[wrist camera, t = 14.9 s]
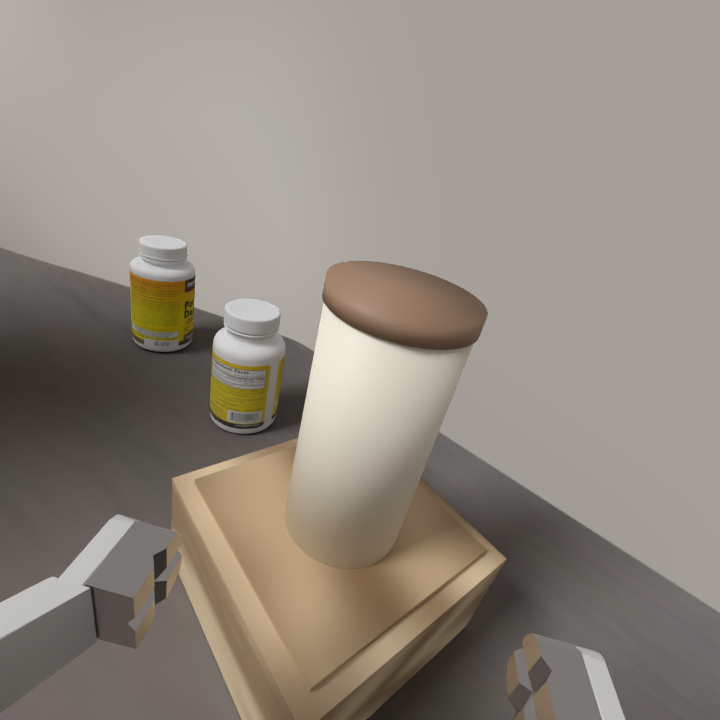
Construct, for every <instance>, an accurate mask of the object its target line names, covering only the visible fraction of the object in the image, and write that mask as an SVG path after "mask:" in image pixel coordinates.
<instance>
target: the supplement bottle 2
mask: <svg viewBox="0 0 720 720" xmlns="http://www.w3.org/2000/svg"><path fill="white" fill-rule="evenodd" d="M280 315H281V313H280V310H279V309H278V308H277V307H276V306H275V305H273V304H271V303H269V302H266V301H262V300H257V299H236V300H232V301H230V302H228V303H227V304H226V306H225V314H224V326H225V327H224V328H222V329H221V330H219V331H218V332H217V333H216V335H215V337H214V340H213V348H212V371H211V391H210V415H211V418H212V420H213V421H214V423H215V424H216V425H217V426H219V427H220V428H222V429H224V430H226V431H229V432H232V433H238V434H250V433H256V432H259V431H262V430H264V429H265V428H267V427H268V426H270V425H271V424H272V423H273V421H274V419H275V417H276V412H277V406H278V398H279V392H280V384H281V377H282V371H283V364H284V357H285V342H284V340H283V338H282V337H281V336H280V335H279V334H278V333H277V332H278V330H279V324H280Z"/></svg>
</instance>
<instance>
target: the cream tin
mask: <svg viewBox="0 0 720 720" xmlns="http://www.w3.org/2000/svg"><path fill="white" fill-rule="evenodd" d="M322 296H323V301H324V304H323V310H322V315H321V320H320V325H319V331H318V336H317V341H316V347H315V352H314V357H313V362H312V368H311V373H310V378H309V384H308V389H307V394H306V400H305V405H304V410H303V415H302V421H301V426H300V431H299V437H298V442H297V447H296V453H295V458H294V463H293V468H292V474H291V479H290V484H289V490H288V495H287V500H286V506H285V523H286V527H287V530H288V532H289V534H290V536H291V538H292V539H293V541H294V542H295V544H296V545H297V546H298V547H299V548H300V549H301V550H302V551H303V552H304V553H305V554H307V555H308V556H309V557H311V558H313V559H314V560H316V561H318V562H320V563H322V564H325V565H328V566H331V567H335V568H341V569H358V568H363V567H367V566H370V565H372V564H374V563H376V562H378V561H380V560H381V559H383V558H384V557H385V556H386V555H387V554H388V553H389V552H390V550H391V549H392V548H393V546H394V544H395V542H396V539H397V537H398V534H399V531H400V529H401V526H402V524H403V521H404V519H405V516H406V514H407V511H408V509H409V506H410V503H411V501H412V498H413V496H414V493H415V491H416V488H417V486H418V483H419V481H420V478H421V475H422V473H423V470H424V468H425V465H426V463H427V460H428V458H429V455H430V453H431V450H432V447H433V445H434V442H435V440H436V437H437V435H438V432H439V430H440V427H441V425H442V422H443V419H444V417H445V414H446V412H447V409H448V407H449V404H450V402H451V399H452V396H453V394H454V391H455V389H456V386H457V384H458V381H459V379H460V376H461V374H462V371H463V368H464V366H465V363H466V361H467V358H468V356H469V353H470V351H471V348H472V346H473V344H474V343H475V342H476V341H477V340H478V338H479V336H480V333H481V331H482V328H483V326H484V323H485V321H486V318H487V314H488V312H487V309H486V307H485V306H484V304H483V303H482V302H481V301H480V300H478V299H477V298H476V297H475V296H474V295H472V294H471V293H469V292H468V291H466V290H464V289H463V288H461V287H459V286H457V285H455V284H452V283H450V282H448V281H446V280H444V279H441V278H438V277H436V276H433V275H430V274H427V273H425V272H421V271H418V270H414V269H411V268H407V267H402V266H398V265H393V264H386V263H380V262H371V261H348V262H342V263H338V264H335V265H333V266H331V267H330V268H329V269H328V270H327V273H326V278H325V283H324V289H323V294H322Z"/></svg>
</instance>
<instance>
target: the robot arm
mask: <svg viewBox="0 0 720 720" xmlns="http://www.w3.org/2000/svg"><path fill="white" fill-rule="evenodd" d="M181 544H182V533H180V532H176V531H173V530H169V529H166V528H163V527H159V526H156V525H153V524H149V523H146V522H143V521H140V520H137V519H133V518H130V517H126V516H123V515H119V514H117V515H116V516H114V517H113V518H111V519H110V520H109V521H108V522H107V523H106V524H105V525H104V527H103V528H102V529H101V530H100V531H99V532H98V534H97V535H96V536H95V537H94V538H93V539H92V540H91V542H90V543H89V544H88V545H87V546H86V547H85V548H84V550H83V551H82V552H81V553H80V554H79V555H78V556H77V558H76V559H75V560H74V561H73V562H72V563H71V564H70V566H69V567H68V568H67V569H66V570H65V571H64V573H63V574H62V575H61V576H60V577H59V578H57V577H53V576H52V577H50V578H48V579H46V580H44V581H42V582H40V583H38V584H36V585H34V586H32V587H30V588H28V589H26V590H24V591H22V592H20V593H18V594H16V595H14V596H12V597H10V598H8V599H6V600H4V601H2V602H0V713H2V712H3V711H4V710H6V709H7V708H8V707H10V706H11V705H12V704H14V703H15V702H16V701H18V700H19V699H20V698H22V697H23V696H24V695H26V694H27V693H28V692H30V691H31V690H33V689H34V688H35V687H37V686H38V685H39V684H41V683H42V682H43V681H45V680H46V679H47V678H49V677H50V676H51V675H53V674H54V673H55V672H57V671H58V670H60V669H61V668H62V667H64V666H65V665H66V664H68V663H69V662H70V661H72V660H73V659H74V658H76V657H77V656H78V655H80V654H81V653H82V652H84V651H85V650H87V649H88V648H89V647H91V646H92V645H93V644H95V643H96V642H97V639H100V640H104V641H108V642H112V643H115V644H119V645H123V646H127V647H131V648H135V649H136V648H137V647H138V645H139V643H140V642H141V640H142V638H143V637H144V635H145V633H146V631H147V630H148V628H149V626H150V625H151V623H152V621H153V620H154V618H155V605H156V604H157V603H159V602H161V601H162V600H164V599H165V598H167V596H168V594H169V592H170V590H171V589H172V587H173V585H174V583H175V580H176V578H177V576H178V573H179V570H180V566H181V561H182V555H181V554H180V552H179V551H178V549H179V547H180V546H181ZM522 644H523V648H522V649H519V650H516V651H514V652H513V653H512V655H511V657H510V658H509V660H508V664H507V669H506V688H507V695H508V699H509V700H510V702H511V704H512V705H513V707H514V708H515V710H516V714H515V716H514V718H513V720H626V719H625V717H624V714H623V711H622V708H621V705H620V703H619V700H618V697H617V694H616V691H615V688H614V686H613V683H612V680H611V677H610V674H609V672H608V669H607V666H606V663H605V661H604V659H603V657H602V656H601V654H600V653H598V652H596V651H594V650H590V649H587V648H583V647H579V646H575V645H573V644H571V643H567V642H563V641H560V640H556V639H552V638H548V637H545V636H541V635H537V634H533V633H530V634H526V636H525V637H524V638H523V640H522Z"/></svg>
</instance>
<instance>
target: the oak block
mask: <svg viewBox="0 0 720 720" xmlns="http://www.w3.org/2000/svg"><path fill="white" fill-rule="evenodd" d="M297 442H298V438H296V439H293V440H290V441H287V442H284V443H281V444H278V445H274V446H271V447H268V448H265V449H262V450H259V451H256V452H253V453H249V454H246V455H243V456H240V457H237V458H234V459H231V460H227V461H224V462H221V463H218V464H215V465H212V466H209V467H206V468H202V469H199V470H196V471H193V472H190V473H187V474H184V475H181V476H177V477H174V478H172V529H171V530H173V531H176V532H180V533H182V544H181V546H180V547H179V549H178V551H179V552H180V554H181V555H182V561H181V566H180V570H179V576H180V578H181V580H182V582H183V585H184V587H185V589H186V592H187V594H188V596H189V599H190V601H191V603H192V606H193V608H194V610H195V613H196V615H197V617H198V620H199V622H200V624H201V627H202V629H203V631H204V633H205V636H206V638H207V640H208V643H209V645H210V647H211V650H212V652H213V654H214V657H215V659H216V661H217V664H218V666H219V668H220V671H221V673H222V675H223V677H224V680H225V682H226V684H227V687H228V689H229V691H230V694H231V696H232V698H233V701H234V703H235V705H236V708H237V710H238V712H239V715H240V717H241V719H242V720H367V719H368V718H369V717H370V716H371V715H372V714H373V713H374V712H375V711H377V710H378V709H379V708H380V707H381V706H382V705H383V704H384V703H385V702H386V701H387V700H388V699H389V698H390V697H391V696H392V695H394V694H395V693H396V692H397V691H398V690H399V689H400V688H401V687H402V686H403V685H404V684H405V683H406V682H407V681H408V680H409V679H411V678H412V677H413V676H414V675H415V674H416V673H417V672H418V671H419V670H420V669H421V668H422V667H423V666H424V665H425V664H427V663H428V662H429V661H430V660H431V659H432V658H433V657H434V656H435V655H436V654H437V653H438V652H439V651H440V650H441V649H442V648H444V647H445V646H446V645H447V644H448V643H449V642H450V641H451V640H452V639H453V638H454V637H455V636H456V635H457V634H458V633H459V632H461V631H462V630H463V629H464V628H465V627H466V625H467V624H468V622H469V620H470V619H471V617H472V616H473V614H474V612H475V611H476V609H477V607H478V606H479V604H480V602H481V601H482V599H483V597H484V596H485V594H486V592H487V591H488V589H489V587H490V586H491V584H492V582H493V581H494V579H495V578H496V576H497V574H498V573H499V571H500V569H501V568H502V566H503V564H504V563H505V561H506V558H505V557H504V556H503V555H502V554H501V553H500V552H499V551H498V550H497V549H496V548H495V547H493V546H492V545H491V544H490V543H489V542H488V541H487V540H486V539H485V538H484V537H483V536H482V535H481V534H480V533H479V532H478V531H477V530H475V529H474V528H473V527H472V526H471V525H470V524H469V523H468V522H467V521H466V520H465V519H464V518H463V517H462V516H461V515H460V514H459V513H457V512H456V511H455V510H454V509H453V508H452V507H451V506H450V505H449V504H448V503H447V502H446V501H445V500H444V499H443V498H442V497H441V496H439V495H438V494H437V493H436V492H435V491H434V490H433V489H432V488H431V487H430V486H429V485H428V484H427V483H426V482H425V481H424V480H423V479H421V478H420V481H419V483H418V486H417V488H416V491H415V493H414V496H413V498H412V501H411V503H410V506H409V509H408V511H407V514H406V516H405V519H404V521H403V524H402V526H401V529H400V531H399V534H398V537H397V539H396V542H395V544H394V546H393V548H392V549H391V550H390V552H389V553H388V554H387V555H386V556H385V557H384V558H383V559H381V560H380V561H378V562H376V563H374V564H372V565H370V566H367V567H363V568H358V569H341V568H335V567H331V566H328V565H325V564H322V563H320V562H318V561H316V560H314V559H313V558H311V557H309V556H308V555H307V554H305V553H304V552H303V551H302V550H301V549H300V548H299V547H298V546H297V545H296V544H295V542H294V541H293V539H292V538H291V536H290V534H289V532H288V530H287V527H286V523H285V506H286V500H287V495H288V490H289V484H290V479H291V474H292V468H293V463H294V458H295V453H296V447H297Z"/></svg>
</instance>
